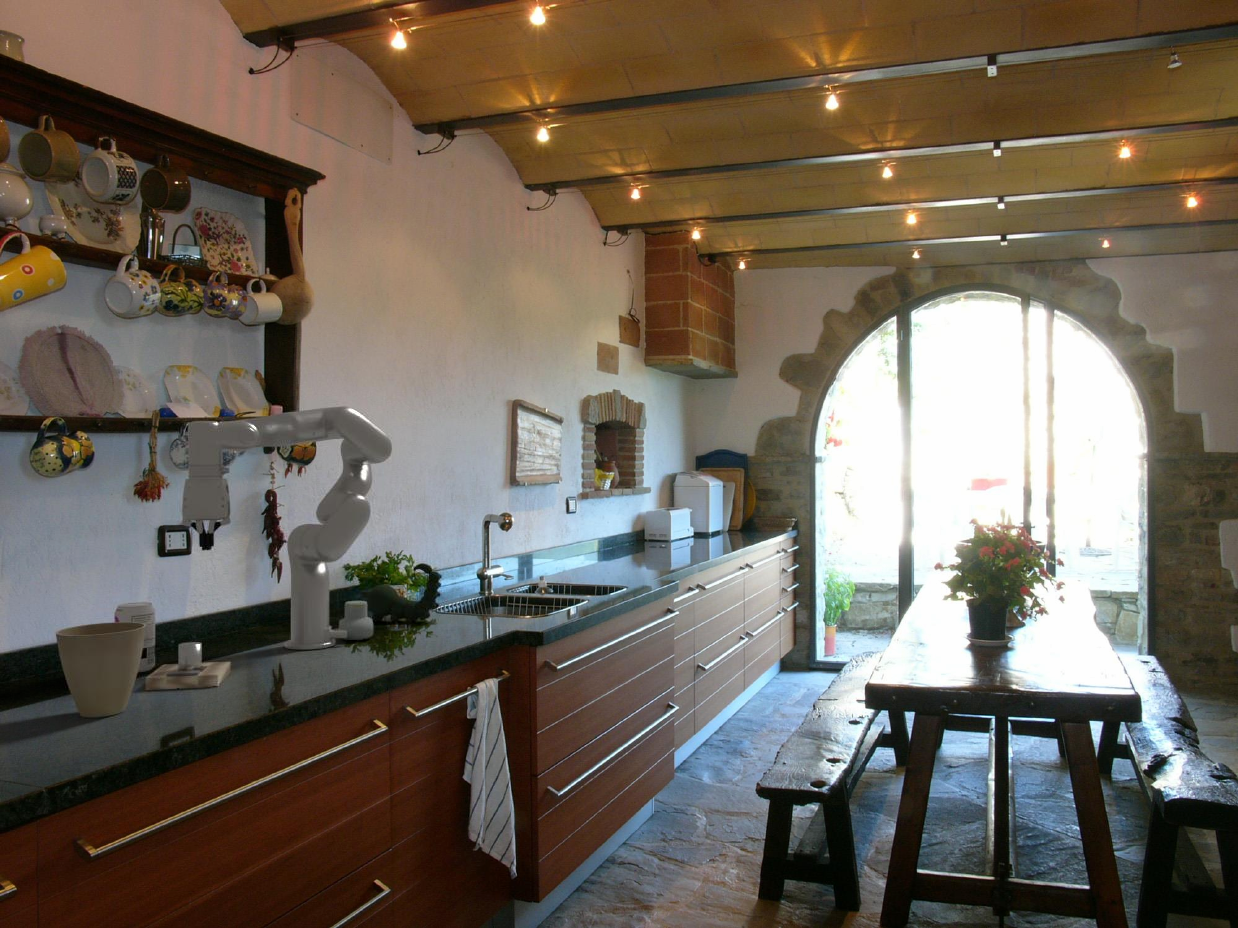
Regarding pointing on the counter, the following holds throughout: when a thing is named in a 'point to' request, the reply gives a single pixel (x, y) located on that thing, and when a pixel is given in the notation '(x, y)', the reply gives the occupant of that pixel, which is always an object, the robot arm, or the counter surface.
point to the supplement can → (145, 615)
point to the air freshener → (356, 621)
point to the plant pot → (101, 664)
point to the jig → (188, 676)
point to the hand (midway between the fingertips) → (206, 549)
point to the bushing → (190, 656)
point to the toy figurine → (403, 600)
